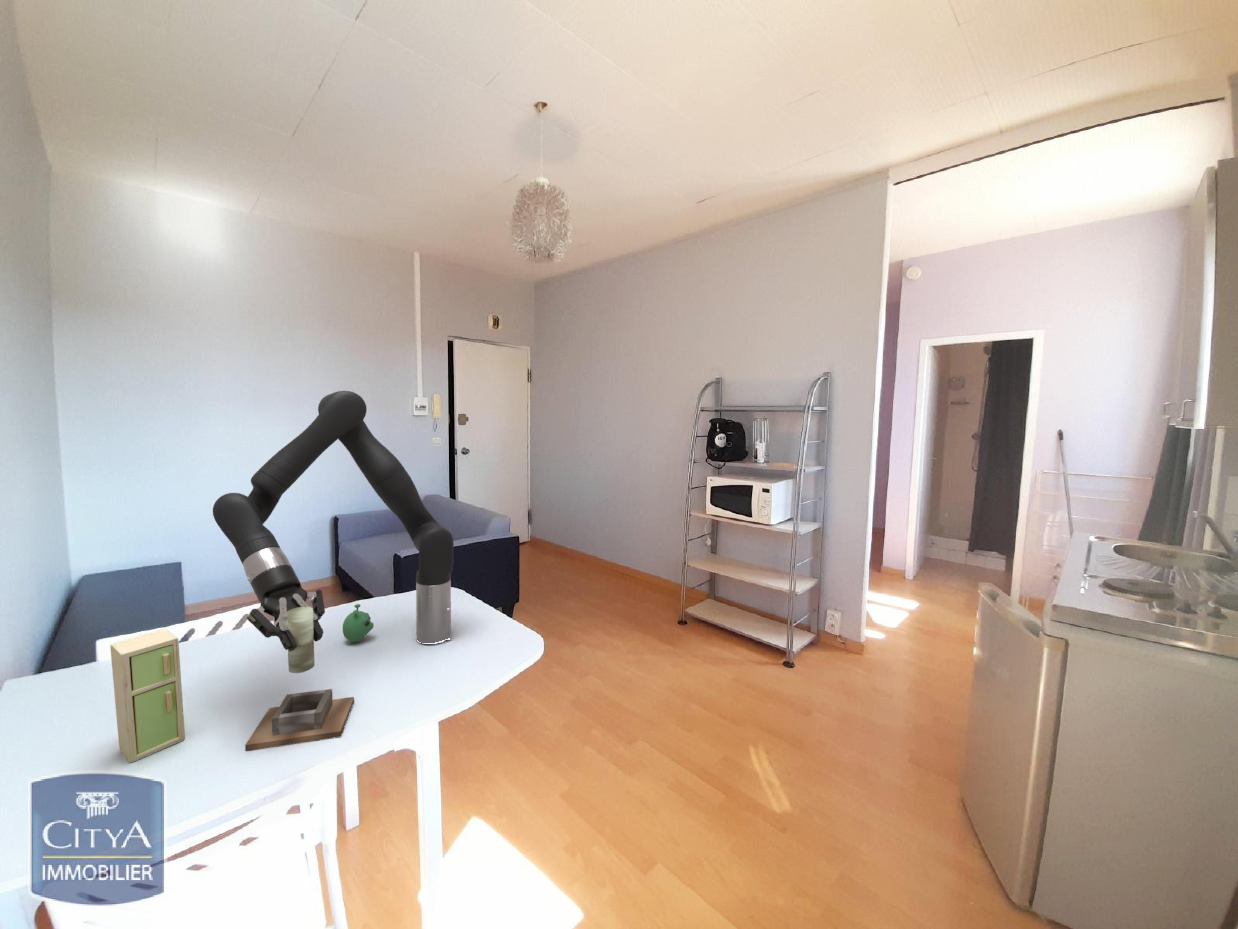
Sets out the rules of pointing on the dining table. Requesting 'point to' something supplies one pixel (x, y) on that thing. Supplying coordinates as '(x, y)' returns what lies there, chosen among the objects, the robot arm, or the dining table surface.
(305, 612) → the pale green cylinder
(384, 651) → the dining table surface
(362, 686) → the dining table surface
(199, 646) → the dining table surface
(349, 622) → the alien toy
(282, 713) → the jig
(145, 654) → the toy refrigerator
